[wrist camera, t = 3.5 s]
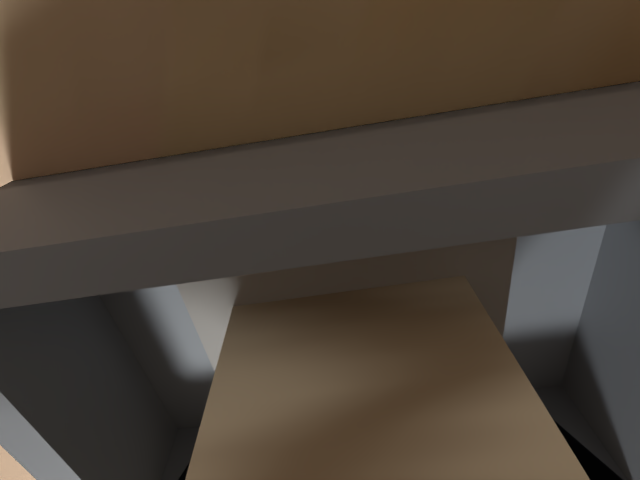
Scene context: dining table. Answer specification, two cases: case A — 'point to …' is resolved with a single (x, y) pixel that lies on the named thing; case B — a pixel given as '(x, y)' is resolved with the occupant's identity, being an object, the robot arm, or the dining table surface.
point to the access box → (320, 269)
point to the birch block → (375, 393)
